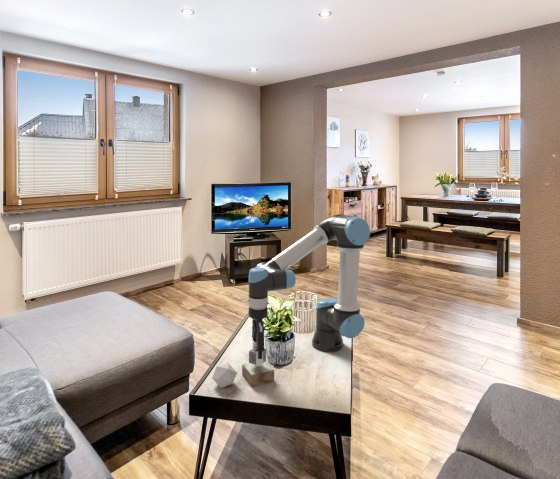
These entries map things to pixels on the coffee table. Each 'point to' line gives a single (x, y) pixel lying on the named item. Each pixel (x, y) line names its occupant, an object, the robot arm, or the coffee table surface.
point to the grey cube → (253, 356)
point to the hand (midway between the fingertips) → (257, 360)
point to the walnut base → (257, 374)
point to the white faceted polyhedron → (224, 375)
